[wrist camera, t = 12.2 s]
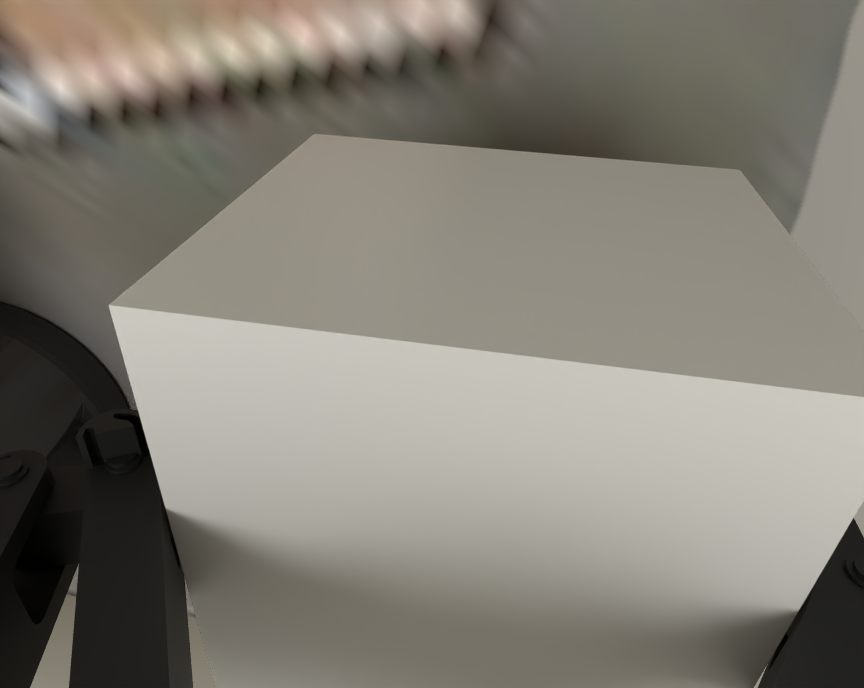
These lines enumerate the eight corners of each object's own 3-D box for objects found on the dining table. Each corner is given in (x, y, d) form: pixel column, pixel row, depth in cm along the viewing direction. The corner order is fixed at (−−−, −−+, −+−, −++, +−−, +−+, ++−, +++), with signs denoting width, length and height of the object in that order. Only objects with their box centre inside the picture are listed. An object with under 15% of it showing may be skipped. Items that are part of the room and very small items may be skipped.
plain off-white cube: (642, 484, 20) (691, 793, 13) (334, 440, 21) (220, 701, 14) (739, 170, 15) (919, 404, 7) (314, 133, 16) (108, 304, 9)
